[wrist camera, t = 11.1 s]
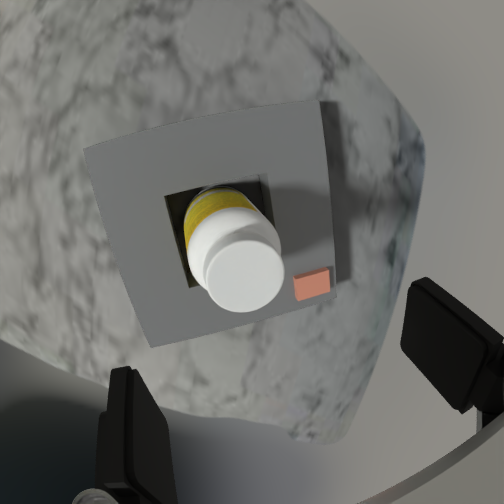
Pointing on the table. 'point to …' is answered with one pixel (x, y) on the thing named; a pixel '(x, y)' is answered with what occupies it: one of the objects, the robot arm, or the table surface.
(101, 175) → the block with square hole
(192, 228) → the supplement bottle
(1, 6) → the table surface
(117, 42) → the table surface
